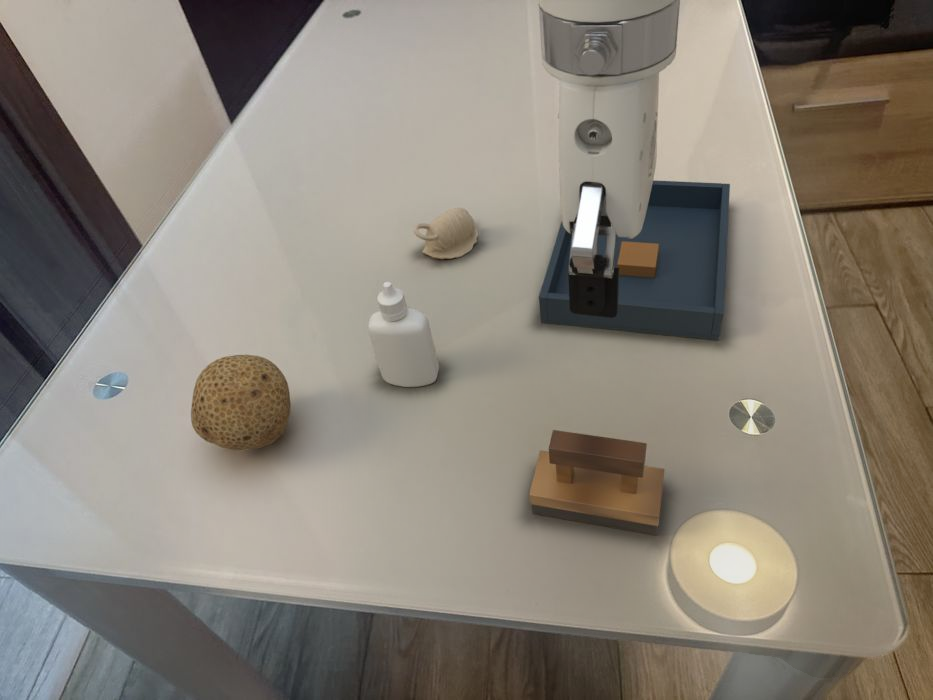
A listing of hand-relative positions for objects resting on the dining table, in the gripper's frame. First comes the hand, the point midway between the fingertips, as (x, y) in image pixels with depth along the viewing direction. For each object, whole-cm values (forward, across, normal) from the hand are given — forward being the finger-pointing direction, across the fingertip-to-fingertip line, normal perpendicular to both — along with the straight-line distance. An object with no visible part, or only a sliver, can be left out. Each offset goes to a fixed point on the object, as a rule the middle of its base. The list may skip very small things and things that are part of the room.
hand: (605, 267), depth 52 cm
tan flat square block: (+17, +21, 0) cm, 27 cm away
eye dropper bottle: (+18, +2, +19) cm, 26 cm away
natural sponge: (+18, -9, +31) cm, 37 cm away
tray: (+18, +22, 0) cm, 28 cm away
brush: (+18, -9, -1) cm, 20 cm away
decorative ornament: (+18, +22, +22) cm, 35 cm away
